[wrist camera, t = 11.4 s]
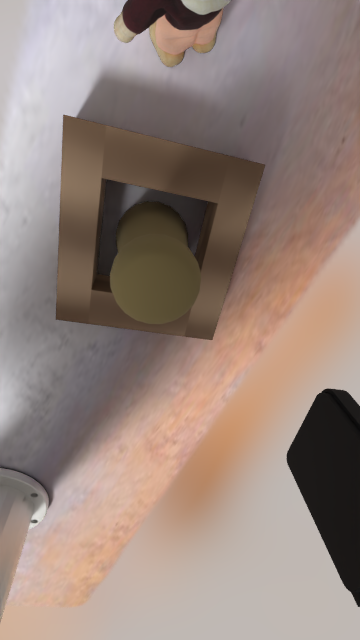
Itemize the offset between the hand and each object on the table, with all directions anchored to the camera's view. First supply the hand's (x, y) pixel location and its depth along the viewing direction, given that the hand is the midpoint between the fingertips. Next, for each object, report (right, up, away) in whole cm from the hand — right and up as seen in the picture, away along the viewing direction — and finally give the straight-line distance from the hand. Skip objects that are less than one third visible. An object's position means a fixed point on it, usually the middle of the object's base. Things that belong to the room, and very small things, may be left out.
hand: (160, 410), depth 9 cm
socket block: (-2, +10, +17) cm, 20 cm away
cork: (-2, +9, +17) cm, 20 cm away
